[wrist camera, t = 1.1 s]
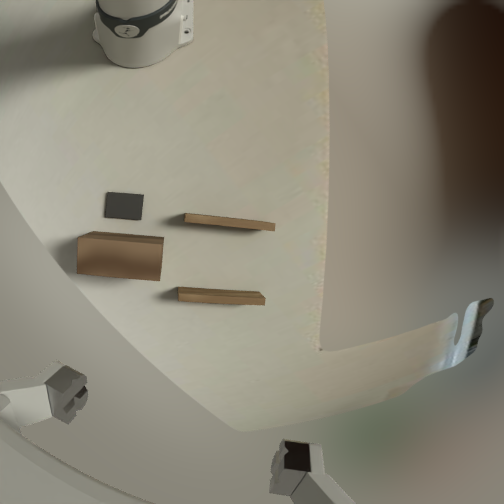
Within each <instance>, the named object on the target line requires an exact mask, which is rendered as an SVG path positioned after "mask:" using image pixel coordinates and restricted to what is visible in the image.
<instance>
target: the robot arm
mask: <svg viewBox="0 0 504 504" xmlns="http://www.w3.org/2000/svg"><path fill="white" fill-rule="evenodd" d="M96 9H97V13H95V15H94V20H95V25H96V28H95V29H94V31H93V33H92V36H93V39H94V40H95V41H96V42H97V43H99V44H100V45H101V46H102V48H103V50H104V53H105V54H106V56H107V57H108V58H109V59H110V60H111V61H112V62H114V63H115V64H117V65H120V66H123V67H129V68H139V67H145V66H149V65H152V64H155V63H157V62H159V61H161V60H163V59H164V58H166V57H167V56H169V55H170V54H171V53H172V52H173V51H174V50H176V49H177V48H180V47H183V46H185V45H188V44H190V43H191V42H192V41H193V0H96ZM185 32H188V34H185ZM86 383H87V378H86V376H85V375H84V374H82V373H80V372H78V371H76V370H74V369H72V368H70V367H69V366H67V365H65V364H63V363H61V362H59V361H54V362H53V363H52V364H50V365H49V366H48V367H47V368H45V369H44V370H43V371H42V372H40V374H38V375H37V376H36V377H32V376H30V377H23V378H16V379H9V380H2V381H0V504H154V503H151V502H149V501H146V500H143V499H141V498H138V497H135V496H133V495H131V494H128V493H126V492H123V491H121V490H119V489H116V488H114V487H112V486H110V485H108V484H105V483H103V482H101V481H99V480H97V479H95V478H93V477H91V476H89V475H87V474H85V473H83V472H81V471H79V470H78V469H76V468H74V467H72V466H70V465H68V464H67V463H65V462H63V461H61V460H60V459H58V458H56V457H55V456H53V455H51V454H50V453H48V452H47V451H45V450H44V449H42V448H40V447H39V446H37V445H36V444H34V443H33V442H31V441H30V440H28V439H27V438H25V437H24V436H23V435H22V434H21V431H20V428H21V427H24V426H27V425H30V424H33V423H36V422H39V421H42V420H45V419H47V418H50V417H52V416H54V417H55V418H57V419H59V420H61V421H63V422H65V423H67V424H69V423H70V422H71V421H72V420H73V419H74V417H75V416H76V411H77V410H81V409H82V408H83V407H84V406H85V404H86V401H87V397H88V390H87V389H86V387H85V384H86ZM271 473H272V474H273V476H272V478H271V480H270V490H269V492H270V493H273V494H279V495H286V496H290V498H291V499H292V501H293V502H294V504H356V503H355V502H354V501H353V500H352V499H351V498H350V497H349V496H348V495H347V494H346V493H345V492H344V491H343V490H342V489H341V488H340V486H338V484H337V483H336V482H335V481H334V480H333V479H332V478H331V477H330V476H329V475H328V474H325V472H324V463H323V455H322V446H321V445H320V444H315V443H307V442H300V441H293V440H287V439H283V440H282V441H281V443H280V447H279V451H276V453H275V455H274V458H273V461H272V465H271Z"/></svg>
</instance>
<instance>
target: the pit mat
mask: <svg viewBox="0 0 504 504" xmlns="http://www.w3.org/2000/svg"><path fill="white" fill-rule="evenodd" d="M143 198H144V195H140V194H128V193H115V192H108V195H107V205H106V216H105V217H113V218H125V219H137V220H141V217H142V207H143Z"/></svg>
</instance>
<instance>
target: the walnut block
mask: <svg viewBox="0 0 504 504" xmlns="http://www.w3.org/2000/svg"><path fill="white" fill-rule="evenodd" d="M163 243H164V237H155V236H144V235H132V234H121V233H109V232H97V231H93V232H90V233H88V234H85V235H83V236H80V237H78V249H77V274H86V275H96V276H106V277H117V278H128V279H139V280H151V281H160V275H161V268H162V255H163Z"/></svg>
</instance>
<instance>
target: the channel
mask: <svg viewBox="0 0 504 504" xmlns="http://www.w3.org/2000/svg"><path fill="white" fill-rule="evenodd" d="M184 221H185V222H190V223H201V224H211V225H221V226H230V227H240V228H250V229H259V230H268V231H275V223H270V222H263V221H255V220H246V219H237V218H228V217H219V216H209V215H199V214H189V213H185V217H184ZM265 299H266V298H265V297H264V296H263V295H262V294H261V293H260V292H256V291H237V290H220V289H204V288H189V287H178V301H186V302H202V303H221V304H242V305H265Z"/></svg>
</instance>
